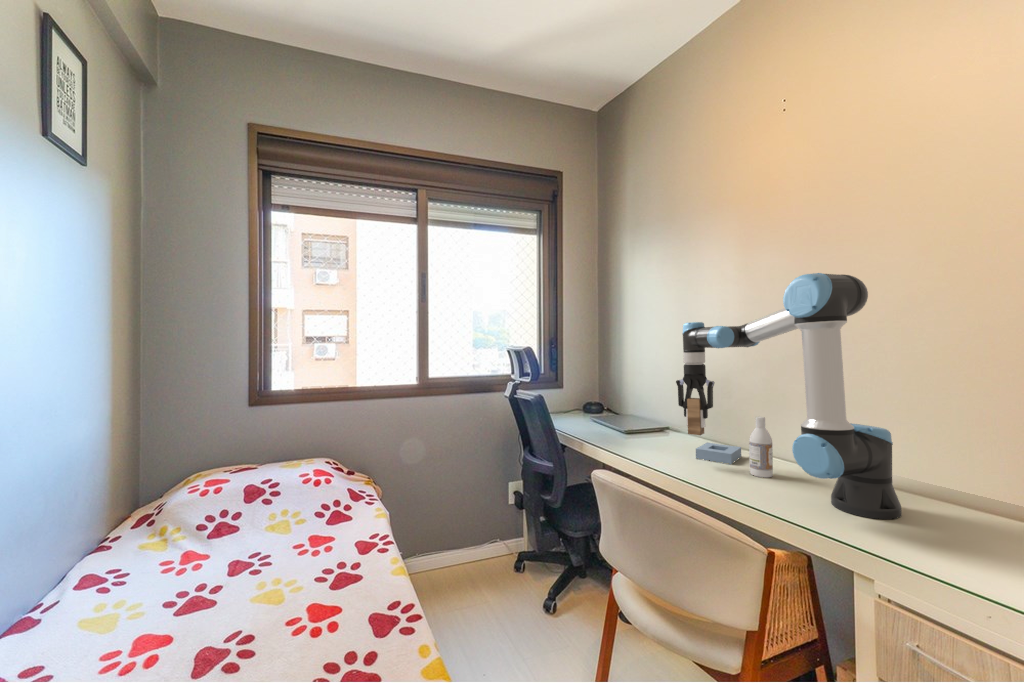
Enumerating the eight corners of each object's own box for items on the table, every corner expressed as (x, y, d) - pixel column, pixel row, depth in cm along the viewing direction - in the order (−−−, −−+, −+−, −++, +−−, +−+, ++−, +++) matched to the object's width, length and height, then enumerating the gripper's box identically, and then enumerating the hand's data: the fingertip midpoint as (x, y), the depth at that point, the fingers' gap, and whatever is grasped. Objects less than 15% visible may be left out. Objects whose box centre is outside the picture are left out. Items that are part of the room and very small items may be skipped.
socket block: (731, 464, 164) (731, 454, 164) (695, 458, 173) (695, 448, 173) (741, 457, 174) (741, 447, 174) (707, 452, 183) (707, 442, 183)
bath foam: (769, 479, 147) (768, 419, 147) (746, 475, 152) (746, 417, 152) (775, 474, 152) (774, 417, 152) (753, 470, 157) (752, 414, 157)
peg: (700, 435, 160) (699, 399, 160) (687, 433, 163) (687, 399, 163) (704, 433, 164) (703, 398, 164) (692, 432, 167) (691, 397, 167)
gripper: (722, 363, 160) (724, 427, 160) (675, 363, 172) (676, 422, 172) (715, 364, 155) (717, 430, 155) (667, 363, 167) (668, 425, 167)
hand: (696, 426), depth 163 cm, fingers closed on peg, 4 cm apart
